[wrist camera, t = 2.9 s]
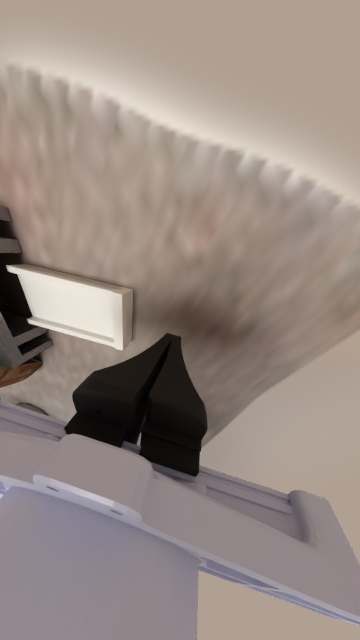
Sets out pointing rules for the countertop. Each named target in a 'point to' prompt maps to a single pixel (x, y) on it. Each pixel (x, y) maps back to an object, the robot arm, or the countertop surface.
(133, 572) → the robot arm
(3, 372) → the food container
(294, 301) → the countertop surface
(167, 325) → the countertop surface
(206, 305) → the countertop surface
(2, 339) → the shelf
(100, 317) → the tray
